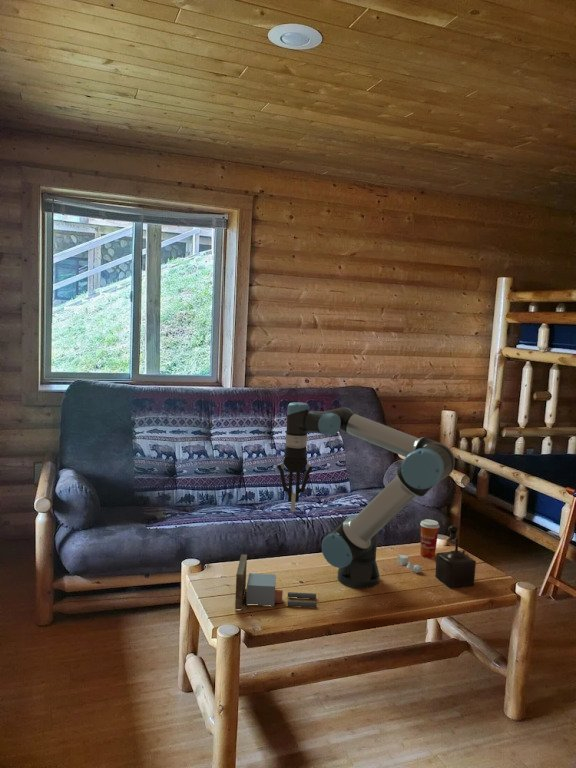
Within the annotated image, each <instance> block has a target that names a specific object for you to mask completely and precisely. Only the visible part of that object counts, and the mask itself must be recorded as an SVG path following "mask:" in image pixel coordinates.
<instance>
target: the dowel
mask: <svg viewBox="0 0 576 768" xmlns="http://www.w3.org/2000/svg"><path fill="white" fill-rule="evenodd" d="M283 593H284V592H283V589H275V600H274V602H280V603H279V604H283V595H284V594H283Z"/></svg>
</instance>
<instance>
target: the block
mask: <svg viewBox="0 0 576 768" xmlns="http://www.w3.org/2000/svg"><path fill="white" fill-rule="evenodd" d="M276 579H277V574H271V573H268V574H267V573H253V572H252V573H250V572H249V573H248V578H247V582H246V597H245V598H246V601H245V602H246V603H245V604H258V605H271V606H274V607H275V603H274V600H275V590H276V582H277V581H276Z"/></svg>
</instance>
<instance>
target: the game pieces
mask: <svg viewBox="0 0 576 768" xmlns="http://www.w3.org/2000/svg"><path fill="white" fill-rule="evenodd" d="M409 559H410V558H409V556H407V555H406V554H401V555H397V564H399V565H401V566H406V567H407V568H408V569H407V568H406V569H407V570H412V571H413V573H415V574H421V572H422V570H423V566H421V565H420V564H415V565H414V564H413V563H412V561H409Z"/></svg>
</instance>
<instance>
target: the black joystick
mask: <svg viewBox="0 0 576 768" xmlns="http://www.w3.org/2000/svg"><path fill="white" fill-rule="evenodd" d="M447 528H448V529H447V530H448V532H449V533H450V536H449V538H447V542H448V543H450V544H453V545H454V547H455V548H454V550H451V551H450V550H449V551H444V552H438V553H436V559H435V561H436V562H435V575H434V576H435V578H436V579H437V580H438V581H439V582H441V583H442V584H443V585H445V586H446V587H447V588H449V589H460V588H468V587H470V588H471V587H475V577H476V565H477V563H476V560H475V559H473V558H472V557H470V555H469V554H468V553H466V550H463V551H460V550H458V549H459V544H460V539H459V537H458V532H459V527H458V526H457V525H449V527H447ZM453 540H454V541H453Z"/></svg>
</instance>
